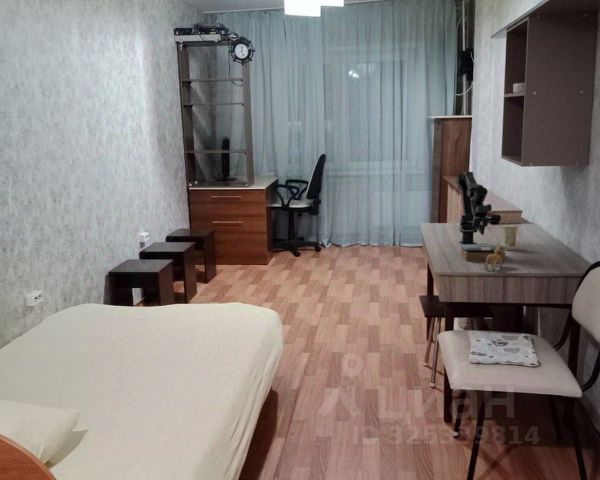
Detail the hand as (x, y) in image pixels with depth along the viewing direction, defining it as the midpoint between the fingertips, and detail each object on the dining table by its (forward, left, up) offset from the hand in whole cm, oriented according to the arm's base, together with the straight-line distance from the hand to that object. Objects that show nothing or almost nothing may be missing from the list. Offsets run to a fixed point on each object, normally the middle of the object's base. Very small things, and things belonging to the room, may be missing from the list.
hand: (482, 234), depth 276 cm
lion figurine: (+18, -4, -12) cm, 22 cm away
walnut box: (+1, 0, -11) cm, 11 cm away
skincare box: (-11, +21, -12) cm, 26 cm away
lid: (+1, 0, -7) cm, 7 cm away
